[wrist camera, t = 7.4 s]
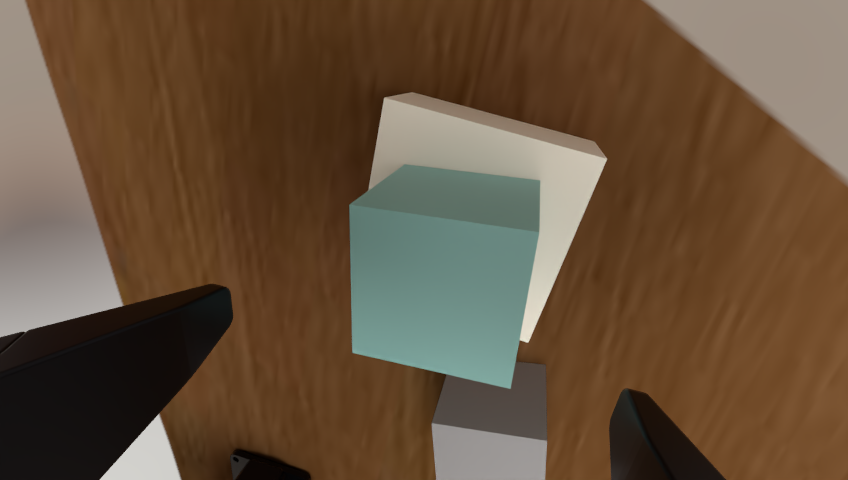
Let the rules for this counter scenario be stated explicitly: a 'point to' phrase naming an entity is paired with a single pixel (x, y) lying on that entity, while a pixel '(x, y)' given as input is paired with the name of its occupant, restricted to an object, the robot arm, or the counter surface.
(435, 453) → the light gray block
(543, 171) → the cream base block
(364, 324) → the teal block
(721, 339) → the counter surface
